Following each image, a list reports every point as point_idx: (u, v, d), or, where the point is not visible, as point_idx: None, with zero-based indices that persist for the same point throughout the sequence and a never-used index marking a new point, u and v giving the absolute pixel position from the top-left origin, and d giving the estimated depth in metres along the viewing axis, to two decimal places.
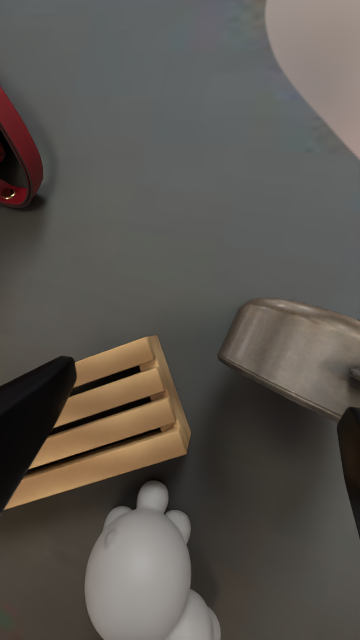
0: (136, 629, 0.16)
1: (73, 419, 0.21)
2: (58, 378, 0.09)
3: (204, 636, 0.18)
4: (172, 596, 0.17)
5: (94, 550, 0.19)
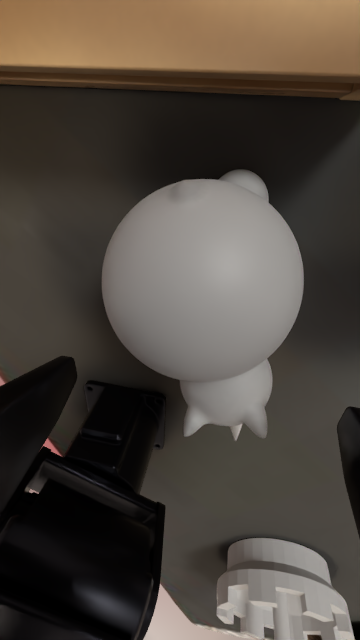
0: (207, 352, 0.08)
1: None
2: (58, 378, 0.09)
3: (266, 396, 0.12)
4: (281, 333, 0.08)
5: (139, 206, 0.08)
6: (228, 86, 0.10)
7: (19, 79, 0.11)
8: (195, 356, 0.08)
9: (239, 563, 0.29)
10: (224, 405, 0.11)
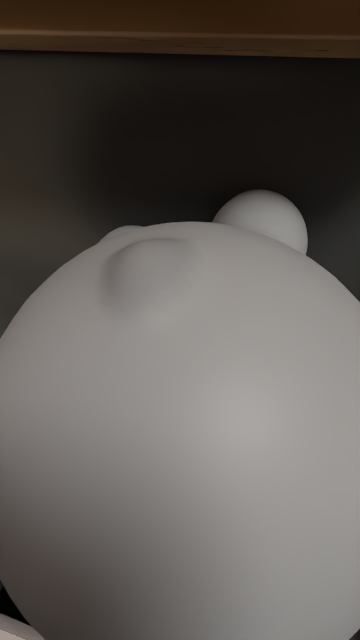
0: None
1: None
2: None
3: None
4: None
5: (43, 292, 0.04)
6: (223, 35, 0.05)
7: None
8: None
9: None
10: None
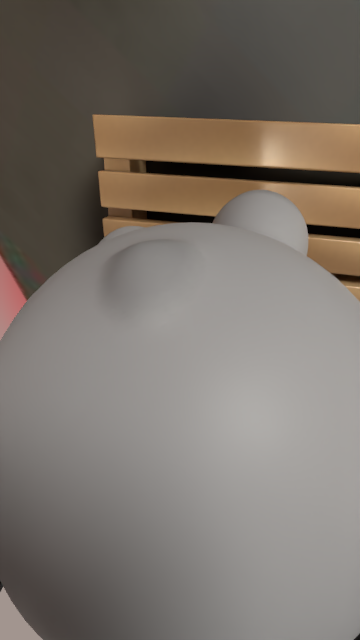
0: None
1: None
2: None
3: None
4: None
5: (43, 293, 0.04)
6: None
7: None
8: None
9: None
10: None
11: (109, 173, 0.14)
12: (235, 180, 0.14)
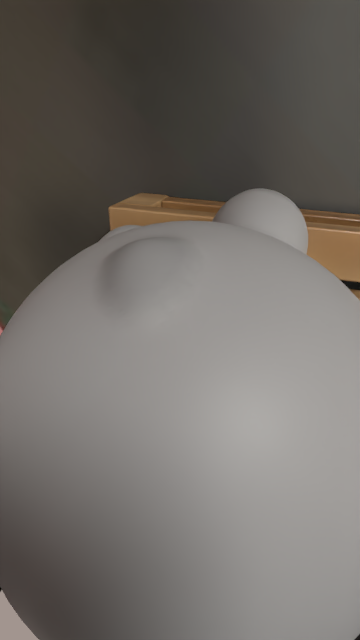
0: None
1: None
2: None
3: None
4: None
5: (41, 291, 0.04)
6: None
7: None
8: None
9: None
10: None
11: None
12: None
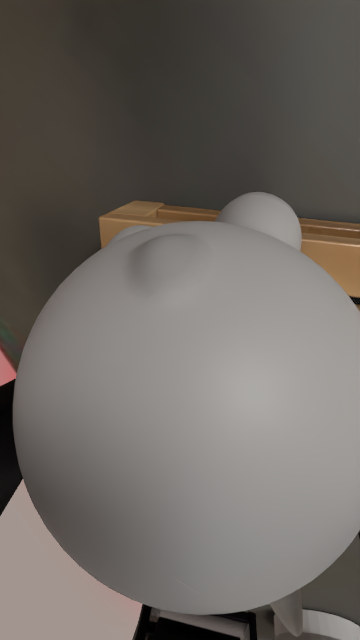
0: (207, 612, 0.04)
1: None
2: None
3: None
4: None
5: (75, 280, 0.04)
6: None
7: None
8: (181, 612, 0.04)
9: (288, 632, 0.34)
10: None
11: None
12: None
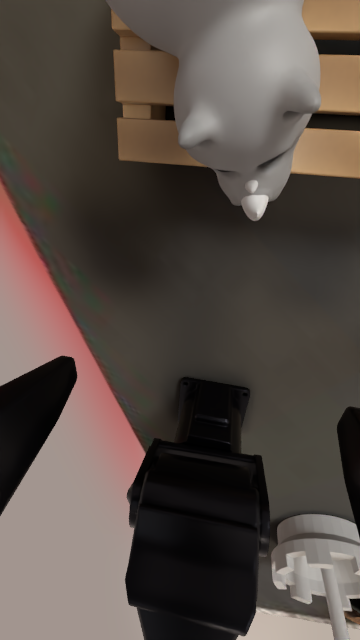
0: None
1: None
2: (58, 378, 0.09)
3: (314, 81, 0.07)
4: None
5: None
6: None
7: None
8: None
9: (292, 535, 0.34)
10: (247, 66, 0.06)
11: None
12: None
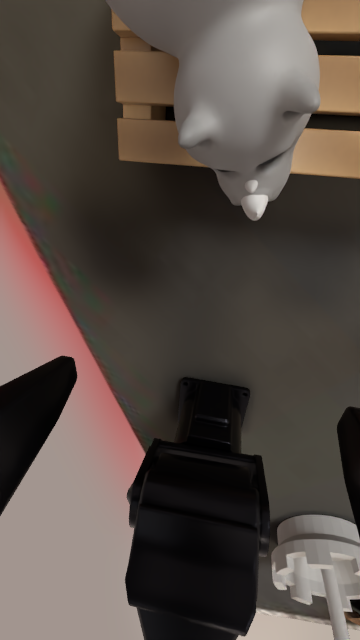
0: None
1: None
2: (58, 378, 0.09)
3: (313, 81, 0.07)
4: None
5: None
6: None
7: None
8: None
9: (292, 536, 0.34)
10: (247, 66, 0.07)
11: None
12: None
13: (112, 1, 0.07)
